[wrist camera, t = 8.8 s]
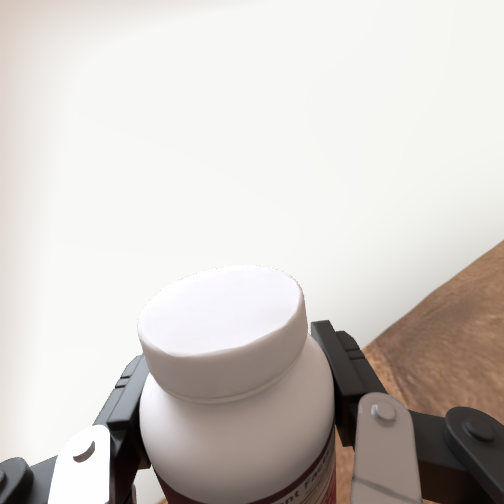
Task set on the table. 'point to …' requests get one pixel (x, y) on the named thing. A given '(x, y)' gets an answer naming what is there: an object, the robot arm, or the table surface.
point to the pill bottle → (237, 392)
